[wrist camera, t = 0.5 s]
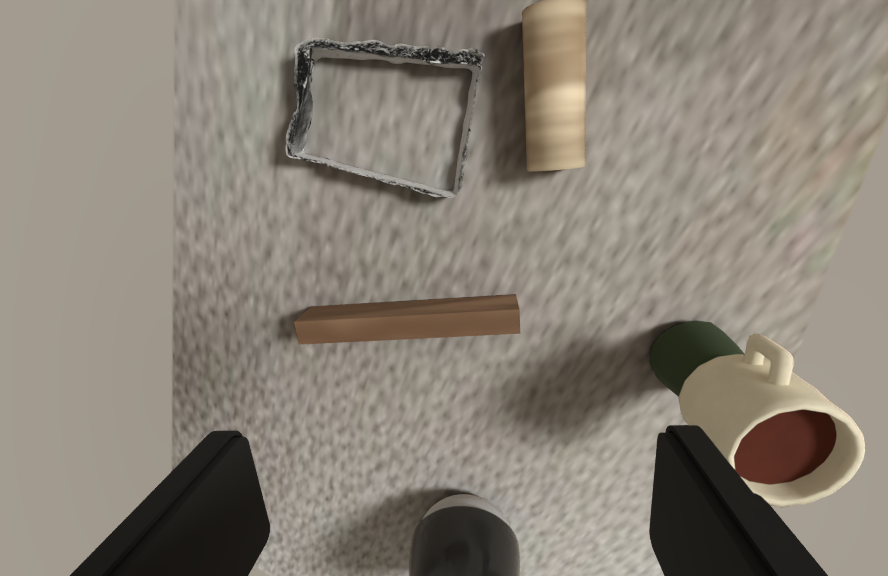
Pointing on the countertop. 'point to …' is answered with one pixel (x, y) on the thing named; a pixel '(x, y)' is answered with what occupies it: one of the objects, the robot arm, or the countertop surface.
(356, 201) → the countertop surface
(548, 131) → the roller
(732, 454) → the character mug
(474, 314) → the stop rail
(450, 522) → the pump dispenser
